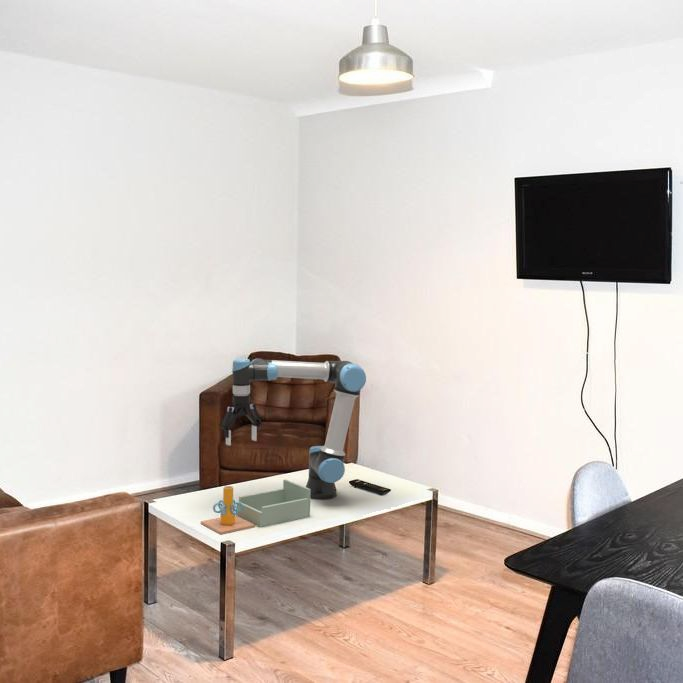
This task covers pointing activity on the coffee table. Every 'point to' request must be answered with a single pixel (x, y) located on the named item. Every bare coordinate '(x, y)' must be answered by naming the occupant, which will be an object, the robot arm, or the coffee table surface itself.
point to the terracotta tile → (223, 529)
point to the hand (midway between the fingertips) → (241, 442)
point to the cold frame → (276, 505)
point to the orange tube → (227, 507)
